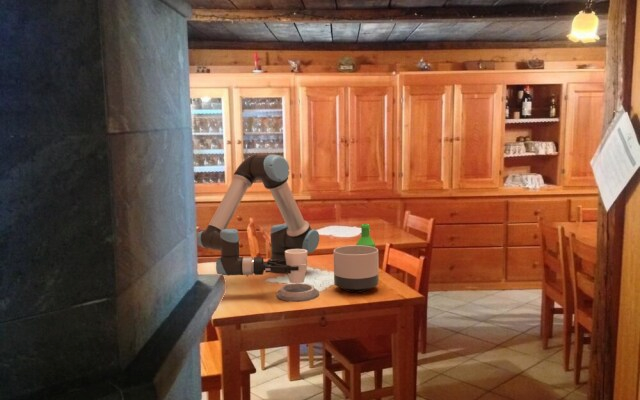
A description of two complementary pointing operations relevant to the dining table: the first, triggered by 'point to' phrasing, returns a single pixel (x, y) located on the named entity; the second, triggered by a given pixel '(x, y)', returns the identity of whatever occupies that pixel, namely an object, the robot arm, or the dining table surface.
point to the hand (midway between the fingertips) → (306, 264)
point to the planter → (356, 267)
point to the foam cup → (296, 259)
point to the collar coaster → (297, 292)
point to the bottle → (365, 236)
